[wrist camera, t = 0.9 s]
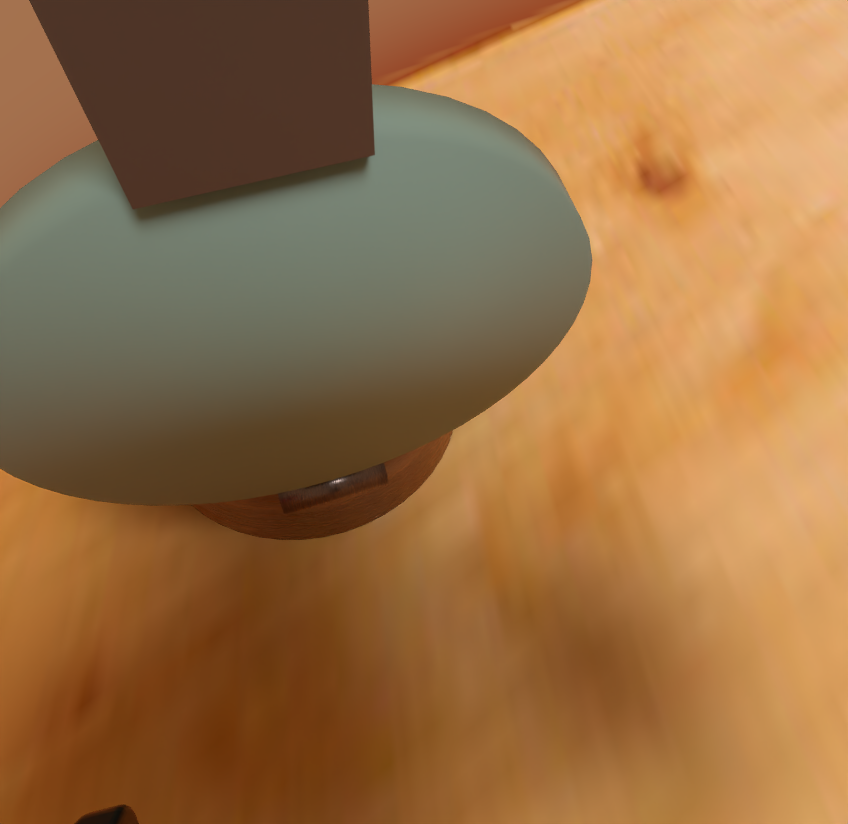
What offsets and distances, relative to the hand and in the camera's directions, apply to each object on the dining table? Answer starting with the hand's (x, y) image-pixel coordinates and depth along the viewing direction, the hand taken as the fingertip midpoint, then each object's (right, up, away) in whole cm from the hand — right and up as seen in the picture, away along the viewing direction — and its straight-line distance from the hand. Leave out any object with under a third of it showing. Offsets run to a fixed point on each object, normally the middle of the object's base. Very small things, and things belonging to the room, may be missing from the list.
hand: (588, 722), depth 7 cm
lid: (-4, +5, +5) cm, 9 cm away
